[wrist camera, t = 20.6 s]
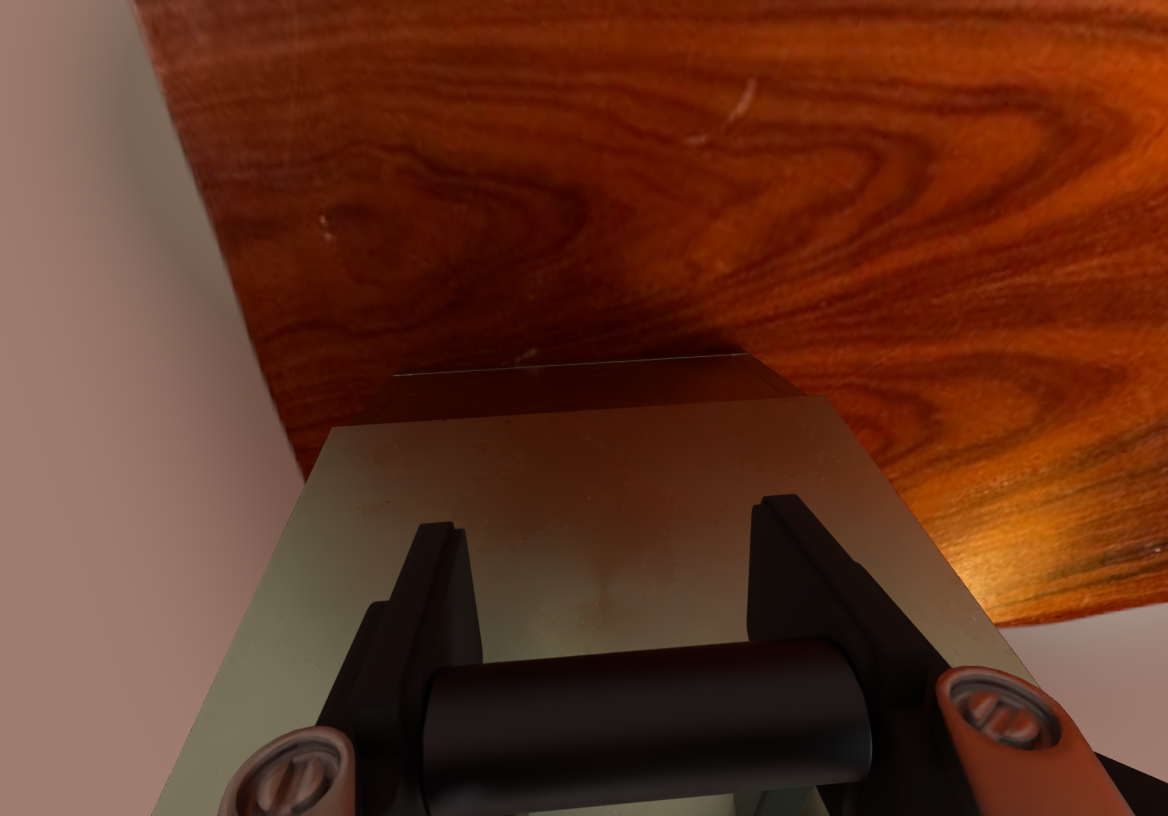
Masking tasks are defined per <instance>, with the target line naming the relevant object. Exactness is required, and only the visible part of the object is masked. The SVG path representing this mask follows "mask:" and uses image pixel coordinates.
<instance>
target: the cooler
mask: <svg viewBox="0 0 1168 816" xmlns="http://www.w3.org/2000/svg"><path fill="white" fill-rule="evenodd" d="M799 396H809V395H807V394H806V393H804V392H803V391H802V390H800V389H799V388H797V387H796V386H794V385H793V384H792V383H790V382H789V381H787V380H786V379H785V378H783V377H782V376H780V375H779V374H778V373H776V372H775V371H773V370H772V369H771V368H769V367H768V366H766V365H765V364H764V363H762V362H761V361H759V360H758V359H757V358H755V357H754V356H752V355H751V354H750V353H748V352H747V351H746V350H744V349H743V350H727V351H711V352H694V353H678V354H662V355H645V356H629V357H613V358H597V359H580V360H564V361H548V362H531V363H515V364H499V365H482V366H466V367H450V368H433V369H417V370H401V371H396V372H395V374H394V375H393V376H392V377H391V378H390V379H389V380H388V381H387V382H386V384H385V385H384V386H383V387H382V388H381V389H380V390H379V391H378V392H377V393H376V394H375V395H374V397H373V398H372V399H371V400H370V401H369V402H368V403H367V404H366V405H365V406H364V407H363V409H362V410H361V411H360V412H359V413H358V414H357V415H356V416H355V417H354V418H353V419H352V421H351V422H350V423H349V424H348V425H347V426H355V425H370V424H385V423H401V422H416V421H431V420H447V419H462V418H477V417H493V416H508V415H523V414H539V413H554V412H569V411H585V410H600V409H615V408H631V407H646V406H661V405H677V404H692V403H707V402H723V401H738V400H753V399H769V398H784V397H799Z"/></svg>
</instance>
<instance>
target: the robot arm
mask: <svg viewBox="0 0 1168 816" xmlns="http://www.w3.org/2000/svg"><path fill="white" fill-rule="evenodd" d="M746 627H747V634H748V639H749V641H756V640H768V639H779V638H791V637H803V636H815V635H823V636H826V637H829V638H831V639H833V640H834V641H836V642H837V643H838V644H839V645H840V646H841V647H842V649H843V650H844V651H845V653H846V654H847V655H848V657H849V659H850V660H851V662H852V664H853V666H854V668H855V670H856V672H857V674H858V676H859V679H860V681H861V684H862V686H863V689H864V692H865V695H866V698H867V702H868V705H869V709H870V714H871V718H872V724H873V730H874V741H875V756H874V763H873V767H872V770H871V772H870V773H869V775H868V776H867V777H865V778H864V779H863V780H861V781H858V782H848V783H837V784H827V785H816V788H817V790H818V792H819V794H820V796H821V799H822V801H823V803H824V805H825V807H826V809H827V812H828V814H829V816H1168V783H1166V782H1164V781H1161V780H1159V779H1157V778H1154V777H1152V776H1150V775H1148V774H1145V773H1143V772H1141V771H1138V770H1136V769H1134V768H1131V767H1129V766H1126V765H1124V764H1122V763H1119V762H1117V761H1115V760H1113V759H1110V758H1108V757H1106V756H1103V755H1101V754H1099V753H1096V752H1094V751H1093V750H1092V749H1091V747H1090V746H1089V744H1088V743H1087V741H1086V739H1085V738H1084V737H1083V735H1082V733H1081V732H1080V730H1079V729H1078V727H1077V726H1076V724H1075V723H1074V721H1073V720H1072V719H1071V717H1070V716H1069V715H1068V714H1067V713H1066V711H1065V710H1064V709H1063V708H1062V707H1061V705H1060V704H1059V703H1058V702H1057V701H1055V700H1054V699H1053V698H1052V697H1050V696H1049V695H1048V694H1046V693H1045V692H1044V691H1043V690H1041V689H1040V688H1038V687H1036V686H1034V685H1033V684H1031V683H1029V682H1027V681H1025V680H1024V679H1022V678H1020V677H1017V676H1014V675H1012V674H1009V673H1007V672H1004V671H1001V670H998V669H993V668H988V667H983V666H959V667H955V668H952V667H951V666H950V665H949V664H948V662H947V661H946V660H945V659H944V658H943V657H942V656H941V655H940V653H939V652H938V651H937V650H936V649H935V648H934V647H933V645H932V644H931V643H930V642H929V641H928V640H927V639H926V637H925V636H924V635H923V634H922V633H921V632H920V631H919V629H918V628H917V627H916V626H915V625H914V624H913V623H912V621H911V620H910V619H909V618H908V617H907V616H906V615H905V613H904V612H903V611H902V610H901V609H900V608H899V607H898V606H897V604H896V603H895V602H894V601H893V600H892V599H891V598H890V596H889V595H888V594H887V593H886V592H885V591H884V590H883V588H882V587H881V586H880V585H879V584H878V583H877V582H876V580H875V579H874V578H873V577H872V576H871V575H870V574H869V572H868V571H867V570H866V569H865V568H864V567H863V566H862V565H861V564H859V563H858V562H855V561H854V560H853V559H852V558H851V557H850V555H849V554H848V553H847V552H846V551H845V550H844V548H843V547H842V546H841V545H840V544H839V543H838V541H837V540H836V539H835V538H834V537H833V536H832V535H831V533H830V532H829V531H828V530H827V529H826V528H825V526H824V525H823V524H822V523H821V522H820V521H819V520H818V518H817V517H816V516H815V515H814V514H813V513H812V511H811V510H810V509H809V508H808V507H807V506H806V505H805V503H804V502H803V501H802V500H801V499H800V498H799V496H797V495H796V494H783V495H771V496H764V497H763V498H762V500H761V504H757V505H754V506H753V507H752V512H751V532H750V554H749V576H748V598H747V620H746ZM481 663H483V649H482V641H481V634H480V627H479V620H478V613H477V607H476V600H475V593H474V586H473V579H472V572H471V565H470V558H469V551H468V545H467V538H466V532H465V529H464V528H460V529H455V527H454V524H453V522H452V521H447V522H435V523H423V524H420V525H419V527H418V529H417V532H416V534H415V537H414V539H413V542H412V544H411V547H410V549H409V552H408V554H407V557H406V559H405V562H404V564H403V566H402V569H401V571H400V574H399V576H398V579H397V581H396V584H395V586H394V589H393V591H392V594H391V596H390V598H389V600H386V601H375V602H373V603H371V604H370V606H369V607H368V609H367V611H366V613H365V615H364V617H363V620H362V622H361V624H360V626H359V629H358V631H357V633H356V635H355V637H354V640H353V642H352V644H351V646H350V649H349V651H348V653H347V655H346V657H345V660H344V662H343V664H342V666H341V669H340V671H339V673H338V675H337V677H336V680H335V682H334V684H333V686H332V689H331V691H330V693H329V695H328V697H327V700H326V702H325V704H324V706H323V709H322V711H321V713H320V715H319V717H318V720H317V722H316V724H315V726H310V727H305V728H300V729H295V730H293V731H291V732H288V733H286V734H284V735H281V736H279V737H277V738H275V739H273V740H272V741H270V742H269V743H267V744H266V745H264V746H263V747H261V748H260V749H258V750H257V751H256V752H255V753H254V754H253V755H251V756H250V757H249V758H248V759H247V760H246V761H245V762H244V763H243V764H242V765H241V766H240V767H239V769H238V770H237V771H236V773H235V774H234V775H233V777H232V778H231V779H230V781H229V782H228V784H227V787H226V789H225V791H224V794H223V796H222V799H221V801H220V805H219V809H218V814H217V816H427V814H426V811H425V807H424V803H423V799H422V793H421V785H420V768H419V754H420V733H421V722H422V714H423V708H424V702H425V697H426V693H427V690H428V687H429V684H430V681H431V678H432V676H433V674H434V672H435V671H436V670H438V669H439V668H441V667H445V666H457V665H469V664H481Z"/></svg>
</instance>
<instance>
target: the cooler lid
mask: <svg viewBox="0 0 1168 816" xmlns="http://www.w3.org/2000/svg"><path fill="white" fill-rule="evenodd" d="M783 494H796V495H797V496H799V498H800V499H801V500H802V501H803V502H804V503H805V505H806V506H807V507H808V508H809V509H810V510H811V511H812V513H813V514H814V515H815V516H816V517H817V518H818V520H819V521H820V522H821V523H822V524H823V525H824V526H825V528H826V529H827V530H828V531H829V532H830V533H831V535H832V536H833V537H834V538H835V539H836V540H837V541H838V543H839V544H840V545H841V546H842V547H843V548H844V550H845V551H846V552H847V553H848V554H849V555H850V557H851V558H852V559H853V560H854V561H855V562H858V563H859V564H861V565H862V566H863V567H864V568H865V569H866V570H867V571H868V572H869V574H870V575H871V576H872V577H873V578H874V579H875V580H876V582H877V583H878V584H879V585H880V586H881V587H882V588H883V590H884V591H885V592H886V593H887V594H888V595H889V596H890V598H891V599H892V600H893V601H894V602H895V603H896V604H897V606H898V607H899V608H900V609H901V610H902V611H903V612H904V613H905V615H906V616H907V617H908V618H909V619H910V620H911V621H912V623H913V624H914V625H915V626H916V627H917V628H918V629H919V631H920V632H921V633H922V634H923V635H924V636H925V637H926V639H927V640H928V641H929V642H930V643H931V644H932V645H933V647H934V648H935V649H936V650H937V651H938V652H939V653H940V655H941V656H942V657H943V658H944V659H945V660H946V661H947V662H948V664H949V665H950V666H951V667H952V668H955V667H959V666H983V667H988V668H993V669H998V670H1001V671H1004V672H1007V673H1009V674H1012V675H1014V676H1017V677H1020V678H1022V679H1024V680H1025V681H1027V682H1029V683H1031V684H1033V685H1034V686H1036V687H1038V688H1040V686H1039V685H1038V684H1037V682H1036V681H1035V680H1034V678H1033V677H1032V676H1031V674H1030V673H1029V671H1028V670H1027V669H1026V667H1025V666H1024V665H1023V663H1022V662H1021V660H1020V659H1019V658H1018V657H1017V655H1016V654H1015V652H1014V651H1013V650H1012V648H1011V647H1010V646H1009V644H1008V643H1007V641H1006V640H1005V639H1004V637H1003V636H1002V635H1001V633H1000V632H999V631H998V629H997V628H996V627H995V625H994V624H993V622H992V621H991V620H990V618H989V617H988V616H987V614H986V613H985V612H984V610H983V609H982V607H981V606H980V605H979V603H978V602H977V601H976V599H975V598H974V597H973V595H972V594H971V593H970V591H969V590H968V588H967V587H966V586H965V584H964V583H963V582H962V580H961V579H960V578H959V576H958V575H957V574H956V572H955V571H954V569H953V568H952V567H951V565H950V564H949V563H948V561H947V560H946V559H945V557H944V556H943V554H942V553H941V552H940V550H939V549H938V548H937V546H936V545H935V544H934V542H933V541H932V540H931V538H930V537H929V535H928V534H927V533H926V531H925V530H924V529H923V527H922V526H921V525H920V523H919V522H918V521H917V519H916V518H915V516H914V515H913V514H912V512H911V511H910V510H909V508H908V507H907V506H906V504H905V503H904V502H903V500H902V499H901V497H900V496H899V495H898V493H897V492H896V491H895V489H894V488H893V487H892V485H891V484H890V482H889V481H888V480H887V478H886V477H885V476H884V474H883V473H882V472H881V470H880V469H879V468H878V466H877V465H876V463H875V462H874V461H873V459H872V458H871V457H870V455H869V454H868V453H867V451H866V450H865V449H864V447H863V446H862V444H861V443H860V442H859V440H858V439H857V438H856V436H855V435H854V434H853V432H852V431H851V429H850V428H849V427H848V425H847V424H846V423H845V421H844V420H843V419H842V417H841V416H840V415H839V413H838V412H837V410H836V409H835V408H834V406H833V405H832V404H831V402H830V401H829V400H828V398H827V397H826V396H825V395H815V396H799V397H784V398H769V399H753V400H738V401H723V402H707V403H692V404H677V405H661V406H646V407H631V408H615V409H600V410H585V411H569V412H554V413H539V414H523V415H508V416H493V417H477V418H462V419H447V420H431V421H416V422H401V423H385V424H370V425H355V426H339V427H332V429H331V431H330V433H329V435H328V437H327V439H326V442H325V444H324V446H323V448H322V450H321V452H320V454H319V457H318V459H317V461H316V463H315V465H314V467H313V469H312V472H311V474H310V476H309V478H308V480H307V482H306V484H305V487H304V489H303V491H302V493H301V495H300V497H299V499H298V502H297V504H296V506H295V508H294V510H293V512H292V514H291V517H290V519H289V521H288V523H287V525H286V528H285V530H284V532H283V534H282V536H281V538H280V540H279V543H278V545H277V547H276V549H275V551H274V553H273V555H272V558H271V560H270V562H269V564H268V566H267V568H266V570H265V572H264V575H263V577H262V579H261V581H260V583H259V585H258V587H257V590H256V592H255V594H254V596H253V598H252V600H251V602H250V605H249V607H248V609H247V611H246V613H245V615H244V618H243V620H242V622H241V624H240V626H239V628H238V630H237V633H236V635H235V637H234V639H233V641H232V643H231V646H230V648H229V650H228V652H227V654H226V656H225V658H224V661H223V663H222V665H221V667H220V669H219V671H218V673H217V675H216V678H215V680H214V682H213V684H212V686H211V688H210V691H209V693H208V695H207V697H206V699H205V701H204V703H203V705H202V708H201V710H200V712H199V714H198V716H197V718H196V720H195V723H194V725H193V727H192V729H191V731H190V734H189V735H188V738H187V740H186V742H185V744H184V746H183V748H182V751H181V753H180V755H179V757H178V759H177V761H176V764H175V766H174V768H173V770H172V772H171V774H170V776H169V778H168V781H167V783H166V785H165V787H164V789H163V791H162V793H161V796H160V798H159V800H158V802H157V804H156V806H155V809H154V811H153V813H152V815H151V816H217V814H218V809H219V805H220V801H221V799H222V796H223V794H224V791H225V789H226V787H227V784H228V782H229V781H230V779H231V778H232V777H233V775H234V774H235V773H236V771H237V770H238V769H239V767H240V766H241V765H242V764H243V763H244V762H245V761H246V760H247V759H248V758H249V757H250V756H251V755H253V754H254V753H255V752H256V751H257V750H258V749H260V748H261V747H263V746H264V745H266V744H267V743H269V742H270V741H272V740H273V739H275V738H277V737H279V736H281V735H284V734H286V733H288V732H291V731H293V730H295V729H300V728H305V727H310V726H315V724H316V722H317V720H318V717H319V715H320V713H321V711H322V709H323V706H324V704H325V702H326V700H327V697H328V695H329V693H330V691H331V689H332V686H333V684H334V682H335V680H336V677H337V675H338V673H339V671H340V669H341V666H342V664H343V662H344V660H345V657H346V655H347V653H348V651H349V649H350V646H351V644H352V642H353V640H354V637H355V635H356V633H357V631H358V629H359V626H360V624H361V622H362V620H363V617H364V615H365V613H366V611H367V609H368V607H369V606H370V604H371V603H373V602H375V601H386V600H389V598H390V596H391V594H392V591H393V589H394V586H395V584H396V581H397V579H398V576H399V574H400V571H401V569H402V566H403V564H404V562H405V559H406V557H407V554H408V552H409V549H410V547H411V544H412V542H413V539H414V537H415V534H416V532H417V529H418V527H419V525H420V524H423V523H435V522H447V521H452V522H453V524H454V527H455V529H460V528H464V529H465V532H466V538H467V545H468V551H469V558H470V565H471V572H472V579H473V586H474V593H475V600H476V607H477V613H478V620H479V627H480V634H481V641H482V649H483V663H481V664H469V665H457V666H445V667H441V668H439V669H438V670H436V671H435V672H434V674H433V676H432V678H431V681H430V684H429V687H428V690H427V693H426V697H425V702H424V708H423V714H422V722H421V733H420V754H419V768H420V785H421V793H422V799H423V803H424V807H425V811H426V814H427V816H829V814H828V812H827V809H826V807H825V805H824V803H823V801H822V799H821V796H820V794H819V792H818V790H817V788H816V785H827V784H837V783H848V782H858V781H861V780H863V779H864V778H865V777H867V776H868V775H869V773H870V772H871V770H872V767H873V763H874V756H875V741H874V730H873V724H872V718H871V714H870V709H869V705H868V702H867V698H866V695H865V692H864V689H863V686H862V684H861V681H860V679H859V676H858V674H857V672H856V670H855V668H854V666H853V664H852V662H851V660H850V659H849V657H848V655H847V654H846V653H845V651H844V650H843V649H842V647H841V646H840V645H839V644H838V643H837V642H836V641H834V640H833V639H831V638H829V637H826V636H823V635H815V636H803V637H791V638H779V639H768V640H756V641H749V639H748V634H747V627H746V620H747V598H748V576H749V554H750V532H751V512H752V507H753V506H754V505H757V504H761V500H762V498H763V497H764V496H771V495H783ZM1040 689H1041V688H1040ZM1041 690H1042V689H1041Z"/></svg>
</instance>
